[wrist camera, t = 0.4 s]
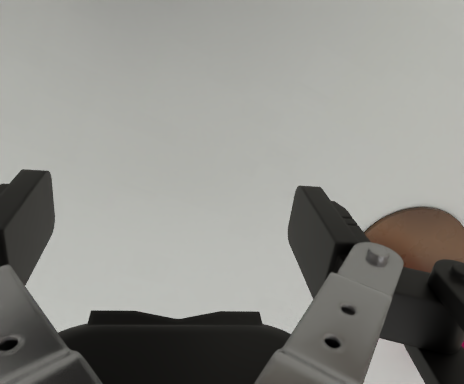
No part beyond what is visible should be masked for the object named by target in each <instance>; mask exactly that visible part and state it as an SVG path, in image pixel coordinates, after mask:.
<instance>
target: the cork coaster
mask: <svg viewBox="0 0 464 384" xmlns="http://www.w3.org/2000/svg"><path fill="white" fill-rule="evenodd" d="M364 234H365V235H366V236H367V238H368V239H369V240H370V242H371V243H377V244H380V245H383V246H386V247H388V248H390V249H392V250H393V251H395V252H396V253H397V254H398V255H400V257H401V258H402V260H403V262H404V265H403V267H407V268H411V269H415V270H420V271H424V272H429V273H431V271H432V269H433V266H434V264H435V262H437V261H438V260H443V259H449V260H455V261H459V262H462V263H464V227H463V226H462V225H461V223H460V222H459V221H458V220H457V219H456V218H454V217H453V216H452V215H450V214H448V213H447V212H444V211H442V210H439V209H435V208H427V207H416V208H409V209H405V210H401V211H398V212H395V213H393V214H390V215H388V216H386V217H384V218H382V219H381V220H379V221H378V222H376V223H375V224H373V225H372V226H371V227H370V228H368V229H367V230H366V231H365V232H364Z"/></svg>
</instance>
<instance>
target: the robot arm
mask: <svg viewBox="0 0 464 384" xmlns="http://www.w3.org/2000/svg"><path fill="white" fill-rule="evenodd" d="M54 223H55V213H54V202H53V190H52V179H51V174H50V172H49V171H41V170H24V169H23V170H21V171H20V172H19V173H18V175H17V176H16V177H15V178H14V179H13V180H12V181H11V183H10V184H1V185H0V384H363V382H364V379H365V376H366V373H367V371H368V368H369V365H370V362H371V359H372V356H373V353H374V350H375V347H376V345H377V342H378V339H379V338H382V339H386V340H390V341H393V342H397V343H401V344H404V346H405V348H406V350H407V352H408V353H409V355H410V357H411V359H412V361H413V362H414V364H415V366H416V368H417V369H418V371H419V373H420V375H421V377H422V378H423V380H424V382H425V384H464V348H463V347H462V343H463V341H464V263H462V262H459V261H455V260H449V259H443V260H438V261H437V262H435V264H434V266H433V269H432V271H431V273H429V272H424V271H420V270H415V269H411V268H407V267H403V265H404V262H403V260H402V258H401V257H400V255H398V254H397V253H396V252H395V251H393V250H392V249H390V248H388V247H386V246H383V245H380V244H377V243H371V242H370V240H369V239H368V238H367V236H366V235H365V234H364V232H363V231H362V230H361V228H360V227H359V226H357V223H356V222H355V221H354V219H352V217H351V215H350V214H349V213H348V211H347V210H346V209H345V208H344V207H342V206H341V205H339V204H338V203H336V202H335V201H330V199H329V198H328V196H327V195H326V194H325V192H324V191H323V189H322V188H321V187H312V186H298V187H297V189H296V192H295V196H294V201H293V206H292V211H291V216H290V221H289V226H288V240H289V244H290V246H291V248H292V251H293V253H294V255H295V258H296V260H297V262H298V265H299V267H300V269H301V272H302V274H303V276H304V278H305V281H306V283H307V285H308V288H309V290H310V292H311V295H312V297H313V301H312V303H311V304H310V306H309V307H308V309H307V310H306V312H305V313H304V315H303V317H302V318H301V320H300V321H299V323H298V324H297V326H296V328H295V329H294V331H293V332H292V334H289V333H287V332H285V331H283V330H280V329H278V328H275V327H272V326H269V325H264V324H262V321H261V317H260V313H259V312H225V311H220V312H215V313H209V314H204V315H199V316H193V317H188V318H183V319H173V318H168V317H163V316H158V315H153V314H148V313H143V312H138V311H91V314H90V317H89V321H88V324H83V325H79V326H75V327H72V328H69V329H66V330H64V331H61V332H59V333H58V332H57V331H56V330H55V328H54V327H53V325H52V324H51V323H50V321H49V320H48V318H47V317H46V315H45V314H44V313H43V311H42V310H41V308H40V307H39V305H38V304H37V303H36V301H35V300H34V298H33V297H32V296H31V294H30V293H29V291H28V290H27V288H26V287H25V285H26V283H27V281H28V279H29V277H30V275H31V274H32V272H33V270H34V268H35V266H36V264H37V262H38V260H39V258H40V256H41V254H42V253H43V251H44V249H45V247H46V245H47V243H48V241H49V239H50V237H51V235H52V233H53V229H54Z"/></svg>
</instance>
